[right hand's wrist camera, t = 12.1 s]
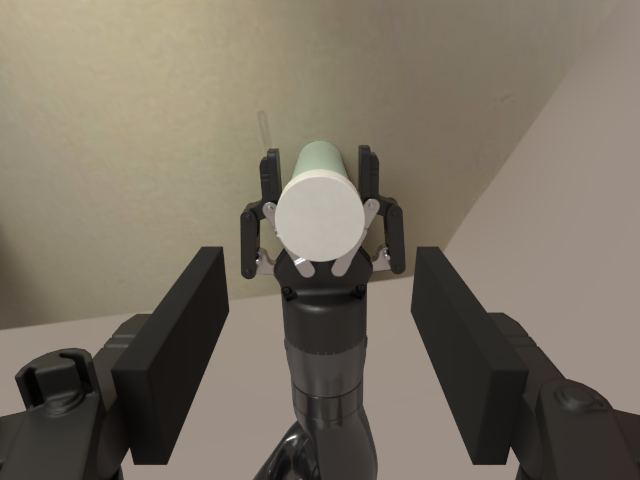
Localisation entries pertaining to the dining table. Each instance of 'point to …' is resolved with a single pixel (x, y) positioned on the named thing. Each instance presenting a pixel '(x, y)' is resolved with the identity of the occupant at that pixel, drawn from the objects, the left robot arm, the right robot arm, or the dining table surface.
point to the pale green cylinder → (319, 159)
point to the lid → (319, 215)
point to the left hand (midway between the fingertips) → (318, 148)
